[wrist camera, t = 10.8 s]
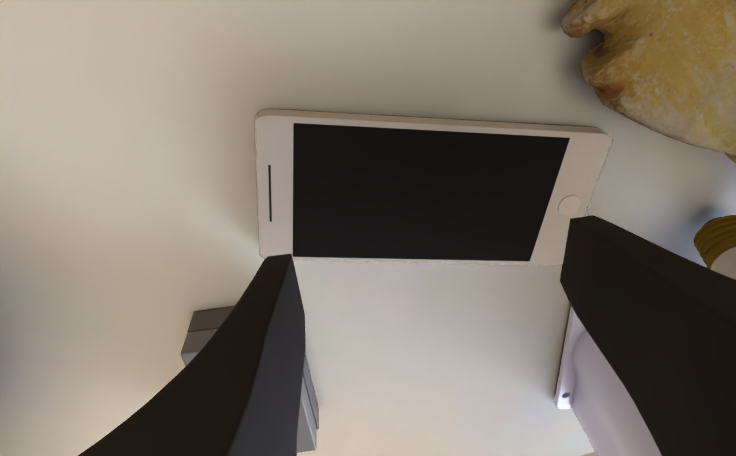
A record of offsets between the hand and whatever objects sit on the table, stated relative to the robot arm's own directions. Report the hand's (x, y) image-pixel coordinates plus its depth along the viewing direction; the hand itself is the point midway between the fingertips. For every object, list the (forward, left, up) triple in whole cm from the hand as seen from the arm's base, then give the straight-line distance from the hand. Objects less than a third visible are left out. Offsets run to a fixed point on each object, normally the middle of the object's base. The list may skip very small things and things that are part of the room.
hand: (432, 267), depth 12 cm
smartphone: (-3, -2, -10) cm, 11 cm away
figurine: (0, -14, -9) cm, 16 cm away
